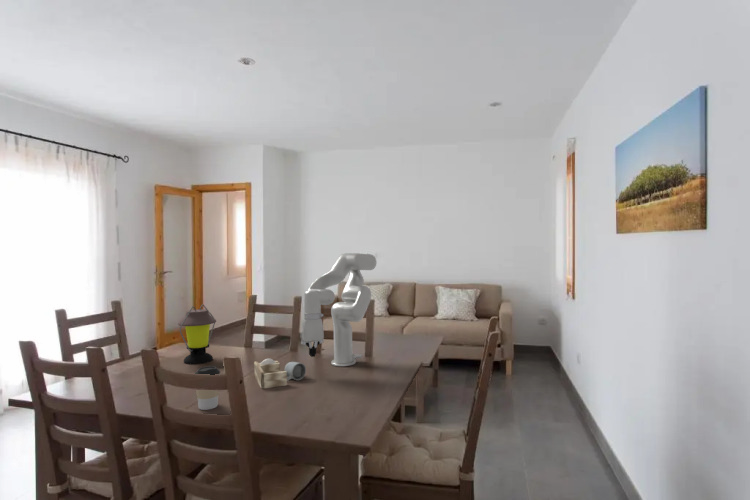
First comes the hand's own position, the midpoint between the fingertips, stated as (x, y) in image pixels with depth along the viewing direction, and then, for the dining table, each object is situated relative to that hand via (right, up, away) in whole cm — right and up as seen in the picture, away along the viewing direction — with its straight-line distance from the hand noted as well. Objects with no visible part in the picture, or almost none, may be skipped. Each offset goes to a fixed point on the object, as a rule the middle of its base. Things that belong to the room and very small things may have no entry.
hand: (312, 356), depth 206 cm
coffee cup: (-35, -11, -36) cm, 52 cm away
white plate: (-21, -10, +2) cm, 23 cm away
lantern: (-66, -11, +33) cm, 75 cm away
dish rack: (-19, -10, -5) cm, 22 cm away
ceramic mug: (-9, -10, -3) cm, 14 cm away
